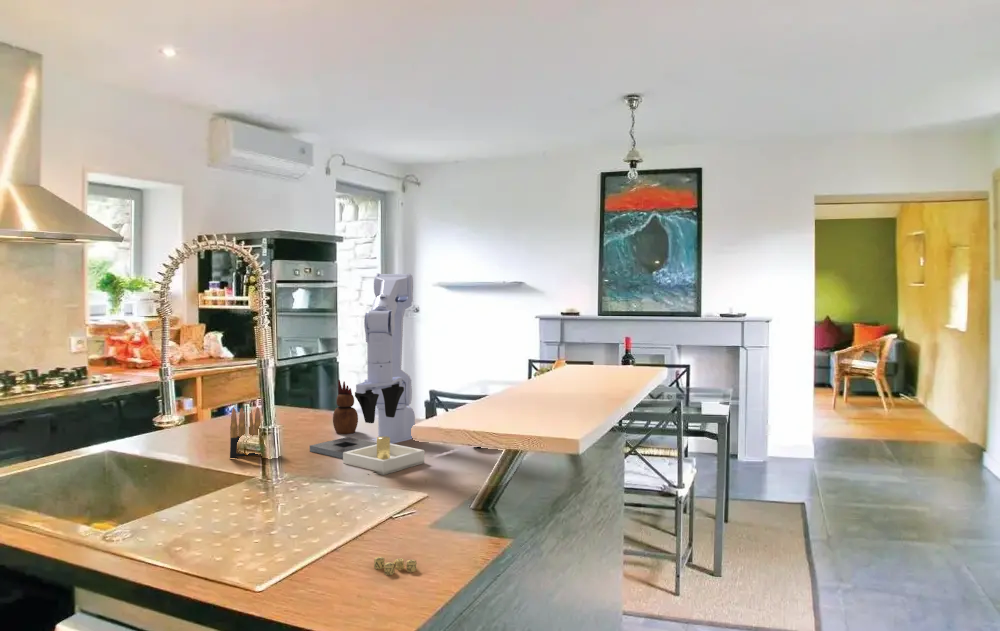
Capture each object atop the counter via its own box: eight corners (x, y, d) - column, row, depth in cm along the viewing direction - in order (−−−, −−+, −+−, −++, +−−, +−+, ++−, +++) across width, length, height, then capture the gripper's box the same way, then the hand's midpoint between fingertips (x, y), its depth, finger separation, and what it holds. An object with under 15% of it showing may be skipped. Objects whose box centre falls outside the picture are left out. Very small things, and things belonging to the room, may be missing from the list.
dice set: (418, 575, 104) (418, 562, 103) (385, 582, 101) (385, 569, 101) (404, 563, 108) (404, 551, 108) (372, 570, 105) (372, 557, 105)
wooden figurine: (328, 434, 194) (328, 379, 194) (344, 430, 199) (344, 377, 198) (346, 437, 190) (345, 382, 190) (361, 434, 195) (361, 379, 194)
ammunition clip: (277, 454, 172) (277, 405, 171) (277, 456, 170) (277, 406, 170) (230, 457, 169) (229, 407, 168) (229, 459, 167) (229, 408, 166)
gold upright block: (381, 459, 165) (381, 435, 165) (392, 460, 164) (392, 437, 164) (374, 462, 163) (374, 438, 162) (384, 463, 161) (384, 439, 161)
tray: (384, 454, 172) (384, 442, 172) (424, 462, 164) (424, 450, 164) (343, 465, 162) (343, 452, 162) (383, 475, 154) (383, 461, 154)
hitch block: (347, 444, 182) (347, 437, 182) (380, 451, 175) (380, 443, 175) (309, 453, 173) (309, 445, 173) (342, 461, 166) (342, 452, 166)
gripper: (385, 357, 174) (386, 412, 175) (345, 364, 161) (345, 423, 162) (409, 359, 170) (409, 415, 171) (369, 366, 158) (370, 426, 159)
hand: (380, 419), depth 166 cm, fingers open, 7 cm apart
